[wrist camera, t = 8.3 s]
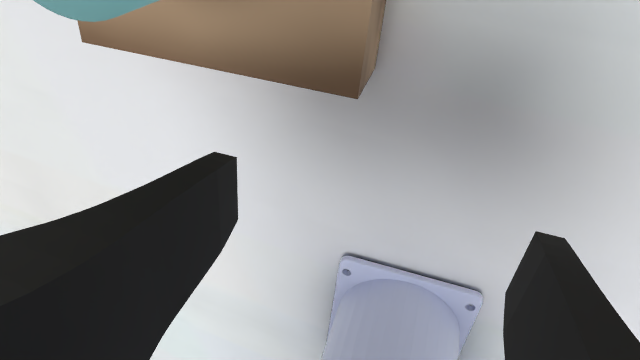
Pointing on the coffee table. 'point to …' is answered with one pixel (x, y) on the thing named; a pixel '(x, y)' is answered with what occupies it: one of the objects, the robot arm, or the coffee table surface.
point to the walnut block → (256, 38)
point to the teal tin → (93, 8)
